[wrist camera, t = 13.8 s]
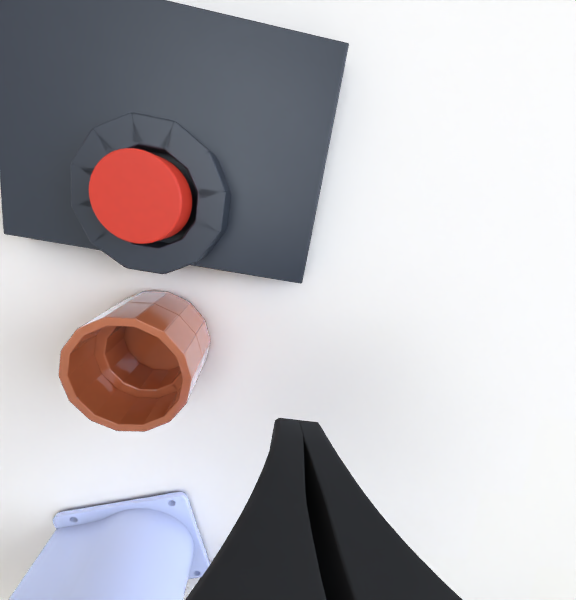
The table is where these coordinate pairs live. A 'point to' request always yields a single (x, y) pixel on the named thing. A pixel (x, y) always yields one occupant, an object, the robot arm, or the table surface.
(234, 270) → the console
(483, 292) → the table surface
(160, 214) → the button
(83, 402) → the cup
